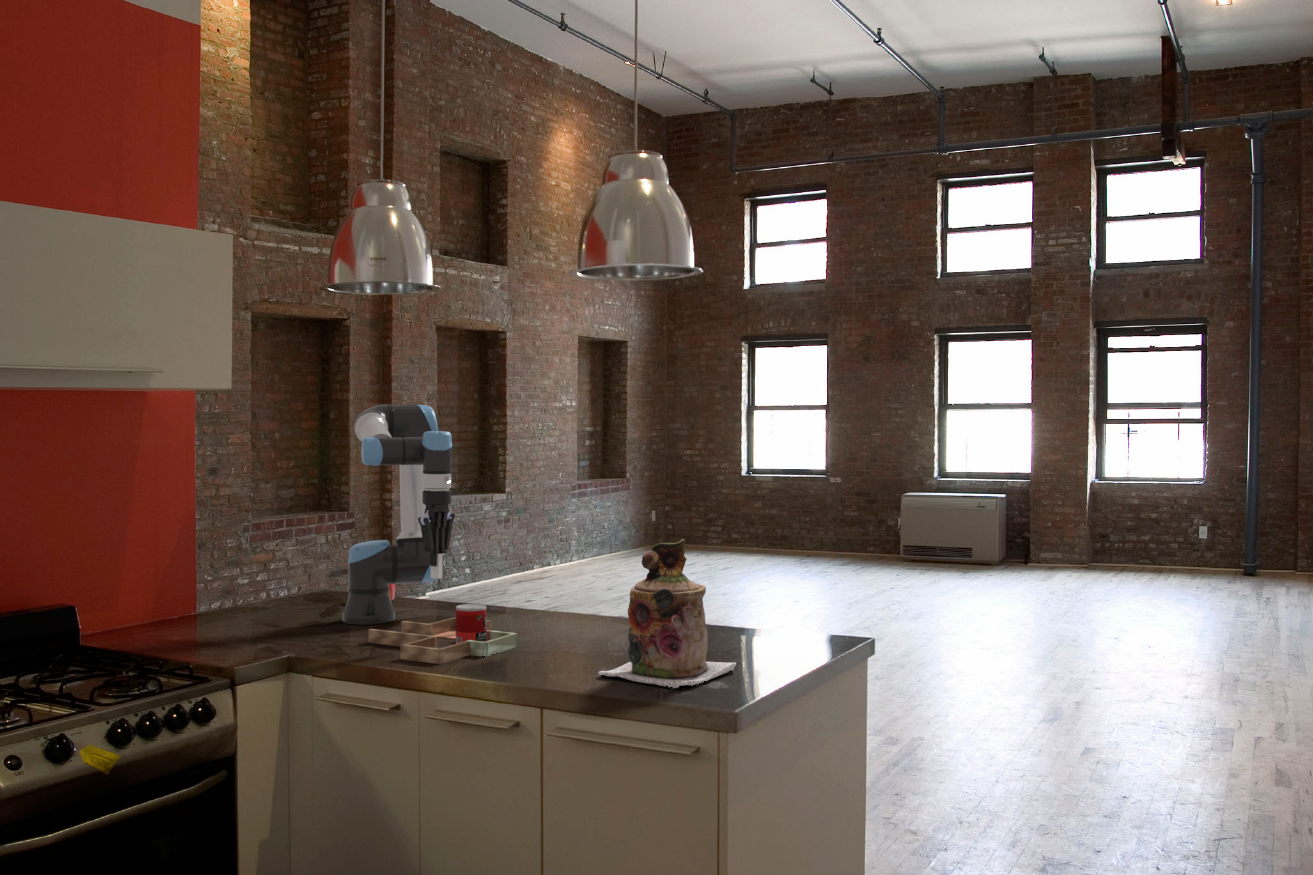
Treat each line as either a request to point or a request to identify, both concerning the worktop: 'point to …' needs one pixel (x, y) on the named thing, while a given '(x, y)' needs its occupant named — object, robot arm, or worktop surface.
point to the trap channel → (423, 641)
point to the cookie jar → (667, 625)
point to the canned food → (470, 622)
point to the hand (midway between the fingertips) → (436, 577)
